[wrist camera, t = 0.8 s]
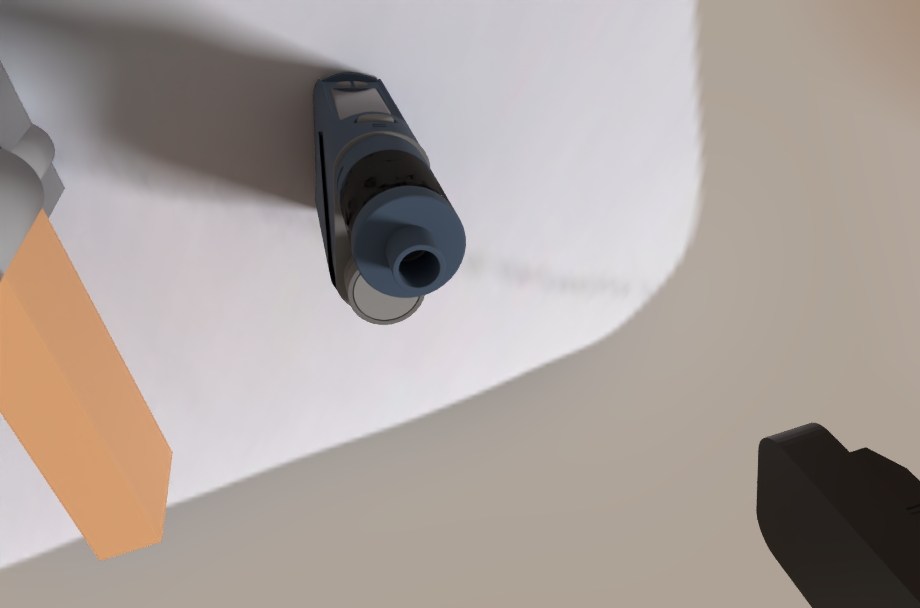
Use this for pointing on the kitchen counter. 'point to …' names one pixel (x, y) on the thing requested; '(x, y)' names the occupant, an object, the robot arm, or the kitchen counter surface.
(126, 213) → the kitchen counter surface
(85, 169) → the kitchen counter surface
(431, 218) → the vaping device
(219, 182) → the kitchen counter surface
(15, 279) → the orange bar
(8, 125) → the socket block
